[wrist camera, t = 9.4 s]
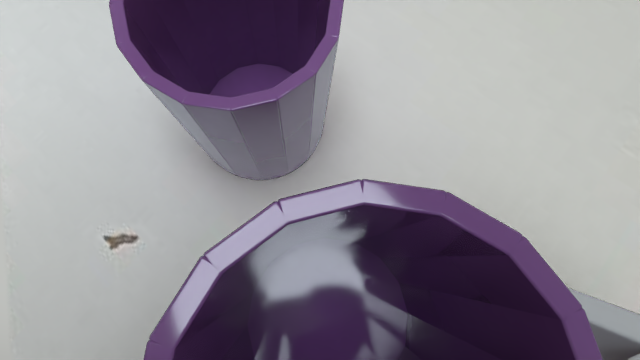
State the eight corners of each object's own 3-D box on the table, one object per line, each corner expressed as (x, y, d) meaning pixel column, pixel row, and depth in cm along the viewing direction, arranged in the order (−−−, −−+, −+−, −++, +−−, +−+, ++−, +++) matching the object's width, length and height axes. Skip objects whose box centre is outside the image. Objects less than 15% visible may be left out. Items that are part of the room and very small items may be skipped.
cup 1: (282, 203, 20) (265, 152, 11) (174, 140, 21) (61, 33, 11) (344, 100, 22) (382, -31, 12) (242, 42, 22) (196, -131, 12)
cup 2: (360, 447, 14) (498, 861, 4) (205, 351, 15) (18, 540, 5) (441, 284, 16) (685, 326, 6) (297, 199, 16) (296, 104, 6)
